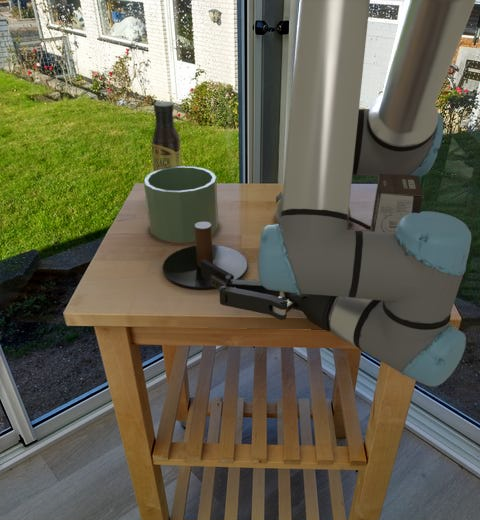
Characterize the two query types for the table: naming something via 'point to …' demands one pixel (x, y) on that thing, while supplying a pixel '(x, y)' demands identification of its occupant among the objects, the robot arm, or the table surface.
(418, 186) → the coffee box
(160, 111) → the sauce bottle
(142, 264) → the table surface
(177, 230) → the pot
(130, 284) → the table surface
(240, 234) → the table surface
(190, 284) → the lid
